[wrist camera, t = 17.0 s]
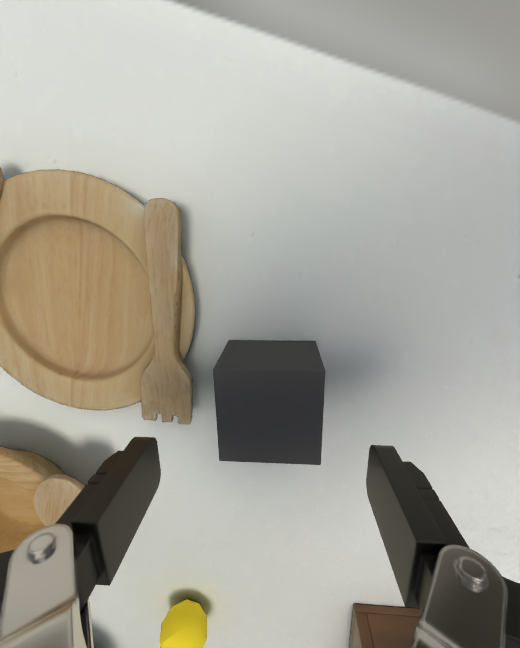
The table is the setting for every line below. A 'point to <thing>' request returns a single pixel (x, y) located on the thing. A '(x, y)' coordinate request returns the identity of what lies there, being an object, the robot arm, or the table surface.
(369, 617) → the back frame
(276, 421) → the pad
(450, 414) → the table surface
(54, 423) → the table surface
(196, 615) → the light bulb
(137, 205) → the tableware set
